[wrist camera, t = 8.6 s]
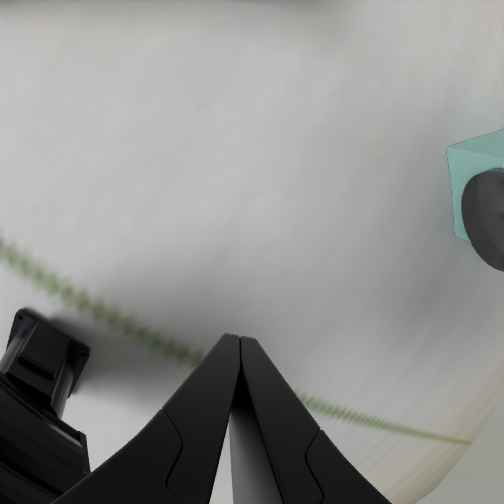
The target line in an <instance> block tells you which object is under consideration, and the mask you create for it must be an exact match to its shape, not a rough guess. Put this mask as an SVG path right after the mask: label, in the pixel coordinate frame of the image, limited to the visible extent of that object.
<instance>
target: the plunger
mask: <svg viewBox="0 0 504 504" xmlns="http://www.w3.org/2000/svg"><path fill="white" fill-rule="evenodd" d="M461 212H462V219H463V223H464V227H465V230H466V233H467V235H468V238H469V240H470V242H471V244H472V246H473V247H474V249H475V250H476V252H477V253H478V254H479V256H480V257H481V258H482V259H483V260H484V261H485V262H486V263H487V264H489V265H490V266H492V267H493V268H495V269H497V270H500V271H504V168H491V169H489V170H486V171H484V172H482V173H479V174H477V175H475V176H473V177H472V178H471V179H470V180H469V181H468V182H467V184H466V186H465V188H464V191H463V194H462V200H461Z"/></svg>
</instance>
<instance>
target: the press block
mask: <svg viewBox="0 0 504 504" xmlns="http://www.w3.org/2000/svg"><path fill="white" fill-rule="evenodd" d="M446 151H447V158H448V165H449V173H450V181H451V191H452V202H453V216H454V235H455V236H457V237H459V238H461V239H463V240H465V241H467V242H469V243H471V242H470V240H469V238H468V235H467V233H466V230H465V227H464V223H463V219H462V212H461V200H462V194H463V191H464V188H465V186H466V184H467V182H468V181H469V180H470V179H471V178H472V177H473V176H475V175H477V174H479V173H482V172H484V171H486V170H489V169H491V168H504V129H502V130H499V131H496V132H493V133H489V134H486V135H483V136H480V137H476V138H473V139H470V140H467V141H464V142H460V143H457V144H454V145H451V146H448V147H446Z"/></svg>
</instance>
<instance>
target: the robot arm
mask: <svg viewBox="0 0 504 504" xmlns="http://www.w3.org/2000/svg"><path fill="white" fill-rule="evenodd" d="M20 315H22V316H23V318H22V317H21V316H20ZM82 351H84V352H85V353H83V352H82ZM89 355H90V349H89V348H88V347H87V346H85V345H83V344H81V343H79V342H77V341H75V340H74V339H72V338H70V337H68V336H66V335H65V334H63V333H61V332H59V331H58V330H56V329H54V328H53V327H51V326H49V325H47V324H46V323H44V322H42V321H41V320H39V319H37V318H36V317H34V316H33V315H31V314H29V313H28V312H26V311H25V310H23V309H19V310H18V311H17V313H16V314H15V318H14V321H13V325H12V328H11V332H10V336H9V340H8V344H7V348H6V352H5V354H4V356H3V357H2V359H1V361H0V504H209V502H210V498H211V494H212V490H213V485H214V481H215V477H216V473H217V468H218V464H219V460H220V456H221V451H222V447H223V443H224V438H225V434H226V430H227V425H228V421H229V435H230V454H231V472H232V488H233V503H234V504H392V503H391V502H389V501H388V500H387V499H386V498H385V497H384V496H383V495H382V494H381V493H380V492H379V491H378V490H377V489H376V488H375V487H374V486H373V485H372V484H371V483H370V482H368V481H367V480H366V479H365V478H364V477H363V476H362V475H361V474H360V473H359V472H358V471H357V470H356V469H355V467H354V466H353V465H352V464H351V463H350V462H349V461H348V460H347V459H346V458H345V457H344V456H343V455H342V453H341V452H340V451H339V450H338V449H337V447H336V446H335V445H334V444H333V442H332V441H331V440H330V439H329V437H328V436H327V435H326V434H325V432H324V431H323V430H320V426H319V425H318V424H317V422H316V421H315V420H314V418H313V417H312V416H311V414H310V413H309V412H308V410H307V409H306V408H305V406H304V405H303V404H302V402H301V401H300V400H299V398H298V397H297V396H296V394H295V393H294V391H293V390H292V389H291V387H290V386H289V385H288V383H287V382H286V381H285V379H284V378H283V376H282V375H281V374H280V372H279V371H278V369H277V368H276V367H275V365H274V364H273V362H272V361H271V360H270V358H269V357H268V355H267V354H266V353H265V351H264V350H263V348H262V347H261V346H260V344H259V343H258V341H257V340H256V339H255V338H251V337H245V336H241V337H240V338H239V336H238V335H233V334H228V333H225V334H223V335H222V337H221V338H220V339H219V340H218V341H217V343H216V344H215V345H214V346H213V348H212V349H211V350H210V351H209V352H208V354H207V355H206V356H205V357H204V358H203V360H202V361H201V362H200V363H199V364H198V366H197V367H196V368H195V369H194V370H193V372H192V373H191V374H190V375H189V376H188V378H187V379H186V380H185V381H184V382H183V384H182V385H181V386H180V387H179V388H178V389H177V391H176V392H175V393H174V394H173V395H172V397H171V398H170V399H169V400H168V401H167V402H166V404H165V405H164V406H163V407H162V409H160V410H159V411H158V412H157V413H156V415H155V416H154V417H153V418H152V419H151V420H150V421H149V422H148V424H147V425H146V426H145V427H144V428H143V429H142V430H141V431H140V432H139V433H138V434H137V435H136V436H135V437H134V438H133V439H131V440H130V441H129V442H128V443H127V444H126V445H125V446H124V447H122V448H121V449H120V450H119V451H118V452H116V453H115V454H114V455H113V456H111V457H110V458H109V459H108V460H107V461H105V462H104V463H103V464H102V465H100V466H99V467H98V468H96V469H95V470H94V471H93V472H91V471H90V464H89V457H88V449H87V440H86V435H85V434H83V433H82V432H80V431H77V430H75V429H74V428H72V427H71V426H69V425H68V424H66V423H65V422H63V421H62V420H61V419H62V415H63V411H64V408H65V404H66V401H67V399H68V398H69V397H70V395H71V393H72V391H73V388H74V386H75V384H76V382H77V380H78V378H79V376H80V374H81V372H82V370H83V368H84V366H85V364H86V362H87V360H88V358H89Z"/></svg>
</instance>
